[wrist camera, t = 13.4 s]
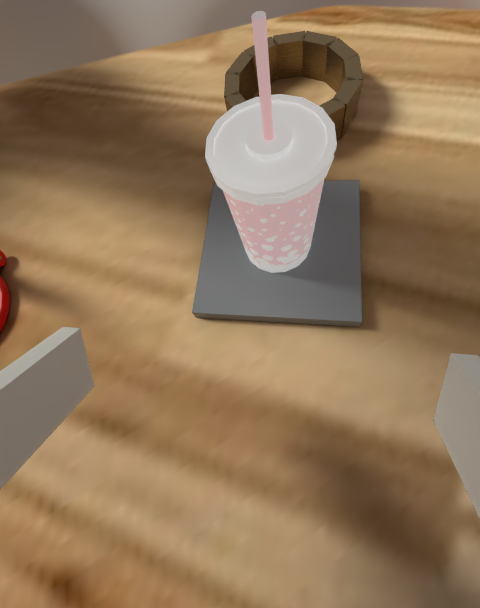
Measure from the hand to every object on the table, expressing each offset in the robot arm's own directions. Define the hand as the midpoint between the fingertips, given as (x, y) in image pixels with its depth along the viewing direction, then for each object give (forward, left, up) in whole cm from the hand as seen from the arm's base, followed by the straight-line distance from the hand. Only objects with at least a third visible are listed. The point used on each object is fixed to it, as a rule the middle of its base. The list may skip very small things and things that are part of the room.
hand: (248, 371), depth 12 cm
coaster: (-4, +10, -10) cm, 14 cm away
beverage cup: (-5, +10, -9) cm, 14 cm away
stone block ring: (-10, +23, -10) cm, 27 cm away
